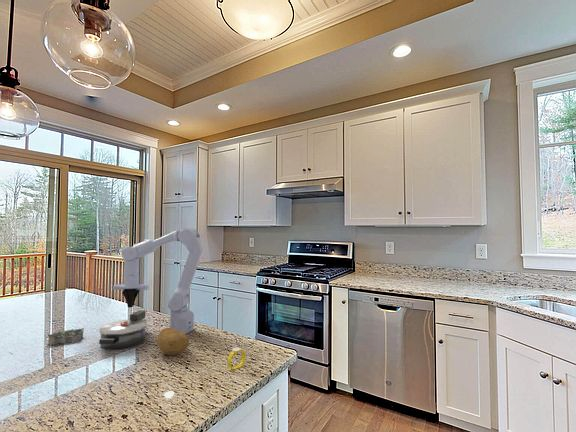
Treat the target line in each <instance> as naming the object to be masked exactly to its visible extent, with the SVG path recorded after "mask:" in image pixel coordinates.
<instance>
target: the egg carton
mask: <svg viewBox="0 0 576 432" xmlns="http://www.w3.org/2000/svg"><path fill="white" fill-rule="evenodd" d="M84 329H85V328H84V327H82V328H75V329H73V328H72V329H67V330H63V329H62V330H61V329H60V330H56V331H55V332H53V333H52V334H47V337H48V340H47V341H48V342H47V343H48V345H51V346H52V345H57V344H66V343H70V342H71V343H76V342H80V341H81V340H82V339H81V338H83V337H84Z"/></svg>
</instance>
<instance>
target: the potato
mask: <svg viewBox="0 0 576 432" xmlns="http://www.w3.org/2000/svg"><path fill="white" fill-rule="evenodd" d="M156 339H157V341H156V343H157V346H158V349H159V351H160V352H162V353H164V354H165V355H167V356H172V355H173V356H175V355H178V356H179V355H180V354H182V353H184V352H185V351H186V350H187V349H188V348H189V344H190V341H189V337H188V336H187V334H185V333H183V332H181V331H179V330H177V329H174V328H170V327H165V328H162V329H161V330H160V331H159V333H158V334H157V338H156Z"/></svg>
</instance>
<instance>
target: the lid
mask: <svg viewBox="0 0 576 432" xmlns="http://www.w3.org/2000/svg"><path fill="white" fill-rule="evenodd" d="M146 311H147V310H143V309H142V310H141V309H139V310H137V311H134V312H133V313H131V314H130V315H129V319H121V320H116V321H112V322H109V323H106V324H104V325H102V326H101V327H99V334H100V335H101V334H102V335H108V336H116V335H125V334H131V333H135V332H138V331H141V330H143V329H144V328H145V329H147V327H148V322H147V320H146V321H144V320H145V318H146Z"/></svg>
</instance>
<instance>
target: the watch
mask: <svg viewBox="0 0 576 432" xmlns="http://www.w3.org/2000/svg"><path fill="white" fill-rule="evenodd" d="M239 353H241V360H240V362H239V364H238V365H235V366H232V364H231V363H232V358H233V356H234V355H235V354H239ZM245 361H246V353H245V351H244V350H242V348H241V347H239V346H237V347H233V348H232V349H231V352H230V353H229V354H228V357H227V366H228V368H229V369H231V370H233V371H236V370H238V369H240V368H242V367H243V365H244V363H245Z"/></svg>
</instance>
